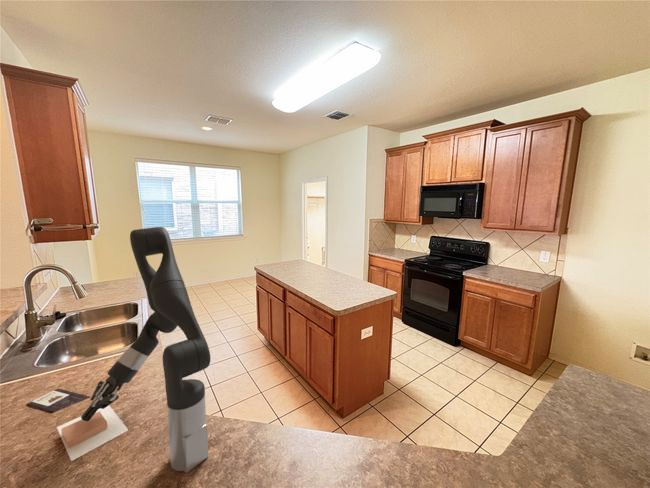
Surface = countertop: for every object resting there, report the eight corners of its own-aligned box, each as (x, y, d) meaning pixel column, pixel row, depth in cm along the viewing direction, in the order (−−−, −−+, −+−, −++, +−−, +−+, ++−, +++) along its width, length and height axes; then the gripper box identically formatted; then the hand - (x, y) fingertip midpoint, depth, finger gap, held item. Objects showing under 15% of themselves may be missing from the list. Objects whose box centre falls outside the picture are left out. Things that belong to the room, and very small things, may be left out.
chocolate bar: (60, 413, 88) (26, 403, 93) (60, 416, 88) (26, 406, 93) (90, 396, 97) (57, 388, 102) (90, 399, 97) (58, 390, 102)
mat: (128, 432, 81) (128, 430, 81) (71, 463, 70) (71, 461, 70) (108, 406, 93) (108, 404, 92) (56, 429, 82) (56, 427, 82)
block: (107, 422, 81) (67, 441, 74) (107, 428, 81) (67, 449, 74) (99, 411, 86) (61, 428, 79) (99, 417, 86) (61, 435, 79)
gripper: (112, 354, 90) (66, 407, 81) (126, 366, 82) (77, 427, 73) (131, 362, 95) (90, 413, 86) (146, 374, 87) (102, 432, 78)
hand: (84, 419), depth 80 cm, fingers closed
